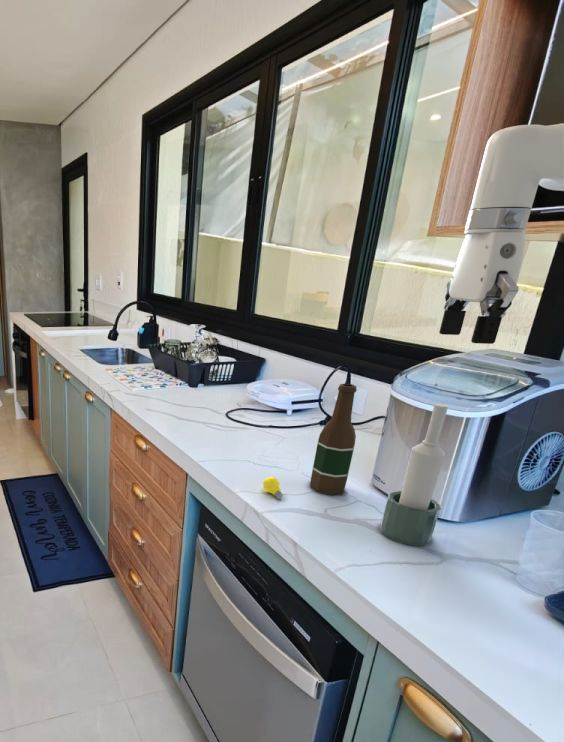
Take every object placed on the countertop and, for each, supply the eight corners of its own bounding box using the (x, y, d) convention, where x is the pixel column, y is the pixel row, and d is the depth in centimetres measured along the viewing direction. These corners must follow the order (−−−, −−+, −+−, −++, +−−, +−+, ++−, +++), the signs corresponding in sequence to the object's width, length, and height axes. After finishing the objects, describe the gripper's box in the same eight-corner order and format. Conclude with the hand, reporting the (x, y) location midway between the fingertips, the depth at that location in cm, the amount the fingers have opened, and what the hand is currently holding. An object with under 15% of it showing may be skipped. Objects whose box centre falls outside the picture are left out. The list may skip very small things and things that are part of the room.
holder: (417, 524, 100) (426, 492, 97) (438, 547, 92) (449, 513, 89) (373, 521, 100) (381, 489, 98) (391, 543, 93) (400, 510, 90)
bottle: (394, 522, 99) (427, 399, 90) (423, 531, 96) (460, 405, 87) (387, 532, 96) (421, 405, 86) (418, 541, 92) (456, 411, 83)
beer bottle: (302, 486, 115) (320, 383, 106) (320, 478, 119) (340, 379, 111) (333, 499, 109) (356, 391, 100) (352, 490, 114) (375, 386, 105)
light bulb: (268, 486, 114) (277, 474, 112) (282, 504, 110) (291, 492, 108) (257, 484, 113) (265, 472, 111) (270, 502, 108) (279, 490, 106)
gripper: (564, 219, 68) (524, 348, 74) (488, 227, 84) (460, 332, 90) (505, 218, 68) (470, 346, 74) (440, 226, 84) (416, 330, 90)
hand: (464, 338), depth 82 cm, fingers open, 9 cm apart
